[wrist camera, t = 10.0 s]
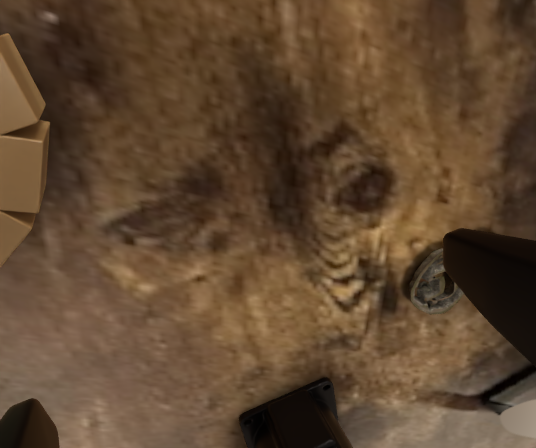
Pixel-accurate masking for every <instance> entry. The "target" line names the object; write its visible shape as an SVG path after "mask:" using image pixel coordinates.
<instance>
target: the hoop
mask: <svg viewBox="0 0 536 448" xmlns="http://www.w3.org/2000/svg"><path fill="white" fill-rule="evenodd" d="M45 106H46V104H45V102H44V100H43V98H42V96H41V94H40V92H39V90H38V88H37V86H36V84H35V83H34V81H33V79H32V77H31V75H30V73H29V71H28V69H27V67H26V65H25V63H24V61H23V60H22V58H21V56H20V54H19V52H18V50H17V48H16V46H15V44H14V42H13V40H12V39H11V37H10V35H9V34H7V33H6V34H3V35H0V268H1V266H2V265H3V264H4V263H5V262H6V260H7V259H8V258H9V257H10V256H11V254H12V253H13V252H14V251H15V249H16V248H17V247H18V246H19V245H20V243H21V242H22V241H23V240H24V239H25V237H26V236H27V235H28V234H29V233H30V231H31V230H32V227H33V223H34V219H35V216H36V213H39V211H40V206H41V202H42V198H43V194H44V190H45V186H46V177H47V162H48V147H49V133H50V122H48V121H42V120H39V119H40V117H41V115H42V112H43V110H44V108H45Z"/></svg>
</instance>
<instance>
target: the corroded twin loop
mask: <svg viewBox="0 0 536 448" xmlns="http://www.w3.org/2000/svg"><path fill="white" fill-rule="evenodd" d="M442 272H445V269H444V266H443V248H442V249H439V250H436V251H433V252H432V253H431V254H430V255H429V256H428V258H426V259H425V260H424V261H423V262H422V264H421V265H420V266H419V268H418V269H417V270H416V272H415V273H414V276H413V280H412V281H411V282H410V284H409V292H410V294H411V301H412V303H413V304H414V306H415V307H417V308H418V309H420V310H422V311H424V312H426V313H428V314H430V315H431V314H442V313H445V312H447V311H449V310H450V309H451V308H452V307H453V306H454V305H455V304H456V303H457V302H458V301H459V300H460V299H461V297H462V295H463V294H464V293H463V292H462V290H461V289H460V288H459V287H458V286H457V285H456V283H455V282H454V281H453V280H452V283H451V284H450V285H449V286H448V287H447V288H446V289H445V290H444V288H445V279H444V276H443V277H437V278H435V277H433V276H435V275H437V274H439V273H442Z"/></svg>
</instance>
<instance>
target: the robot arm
mask: <svg viewBox="0 0 536 448" xmlns="http://www.w3.org/2000/svg"><path fill="white" fill-rule="evenodd" d="M443 266H444V269H445V271H446V273H447V274H448V275H449V276H450V278H451V279H452V280H453V281H454V282H455V283H456V285H457V286H458V287H459V288H460V289H461V290H462V292H463V293H464V294H465V295H466V296H467V297H468V299H469V300H470V301H471V302H472V303H473V304H474V306H475V307H476V308H477V309H478V310H479V312H480V313H481V314H482V315H483V316H484V317H485V318H486V319H487V320H488V322H489V323H490V324H491V325H492V326H493V327H494V328H495V329H496V330H497V331H498V332H499V333H500V334H502V335H503V336H504V337H505V338H506V339H507V340H508V341H509V342H510V343H511V344H512V345H513V346H514V347H515V348H516V349H517V350H518V351H519V352H520V353H521V354H522V355H523V356H524V357H526V358H527V359H528V360H529V361H530V362H531V363H532V364H533V365H534V366H535V367H536V241H534V240H528V239H522V238H516V237H511V236H505V235H499V234H493V233H487V232H481V231H476V230H470V229H464V228H460V229H457V230H454V231H452V232H449V233H447V234H446V235H445V236H444V238H443ZM239 423H240V426H241V429H242V432H243V435H244V438H245V441H246V444H247V447H248V448H353V447H352V445H351V443H350V442H349V440H348V438H347V436H346V435H345V433H344V431H343V430H342V428H341V426H340V425H339V423H338V416H337V409H336V402H335V395H334V388H333V384H332V382H331V380H330V379H329V378H322V379H320V380H318V381H315V382H313V383H311V384H308V385H306V386H304V387H302V388H299V389H297V390H295V391H292V392H290V393H288V394H285V395H283V396H281V397H279V398H276V399H274V400H272V401H269V402H267V403H265V404H263V405H260V406H258V407H256V408H253V409H251V410H249V411H247V412H244V413H243V414H241V415H240V417H239ZM0 448H59V437H58V432H57V428H56V426H55V424H54V423H53V421H52V420H51V418H50V417H49V415H48V414H47V412H46V411H45V410H44V408H43V407H42V405H41V404H40V402H39V401H38V400H36V399H33V398H31V399H28V400H26V401H23V402H21V403H18V404H16V405H13V406H12V407H10V408H9V409H8V411H7V412H6V413H5V415H4V416H3V417H2V419H1V420H0Z"/></svg>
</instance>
